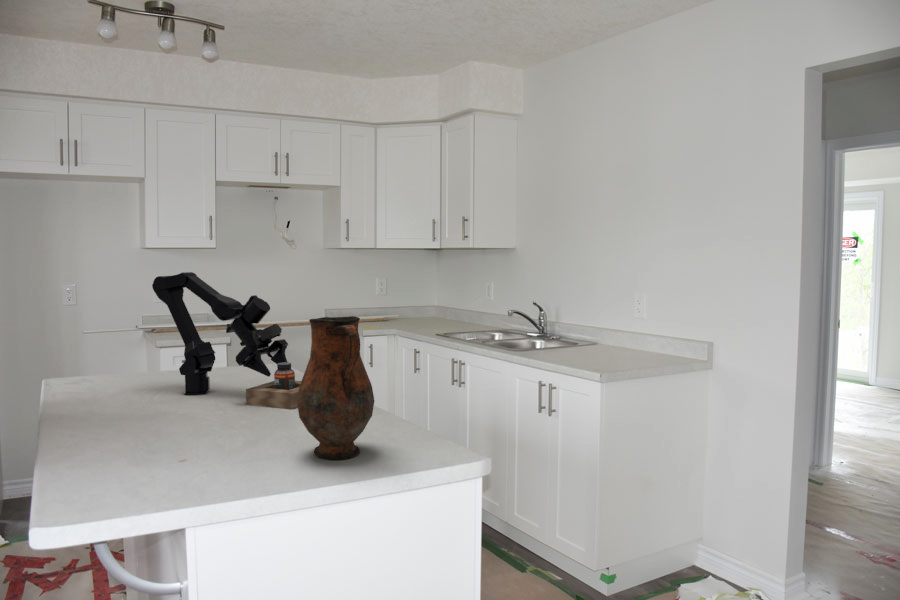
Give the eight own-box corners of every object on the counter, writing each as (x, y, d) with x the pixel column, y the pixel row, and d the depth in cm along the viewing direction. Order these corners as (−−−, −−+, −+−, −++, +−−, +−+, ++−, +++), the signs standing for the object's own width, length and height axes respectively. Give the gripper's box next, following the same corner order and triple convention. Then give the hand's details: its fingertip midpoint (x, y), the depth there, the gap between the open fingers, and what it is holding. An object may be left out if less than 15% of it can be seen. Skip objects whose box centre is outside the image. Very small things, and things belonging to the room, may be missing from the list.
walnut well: (246, 404, 195) (245, 389, 194) (279, 393, 210) (279, 379, 209) (292, 409, 189) (292, 393, 189) (323, 397, 204) (323, 382, 203)
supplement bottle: (297, 398, 202) (297, 361, 201) (292, 403, 196) (292, 364, 196) (277, 398, 202) (277, 361, 202) (272, 403, 196) (271, 364, 196)
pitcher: (358, 438, 159) (356, 312, 157) (394, 462, 141) (393, 320, 139) (288, 448, 152) (285, 315, 149) (317, 475, 133) (314, 324, 131)
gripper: (243, 318, 191) (275, 359, 188) (282, 313, 209) (313, 350, 205) (221, 344, 195) (253, 385, 192) (262, 337, 212) (291, 374, 209)
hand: (279, 372), depth 199 cm, fingers open, 9 cm apart
